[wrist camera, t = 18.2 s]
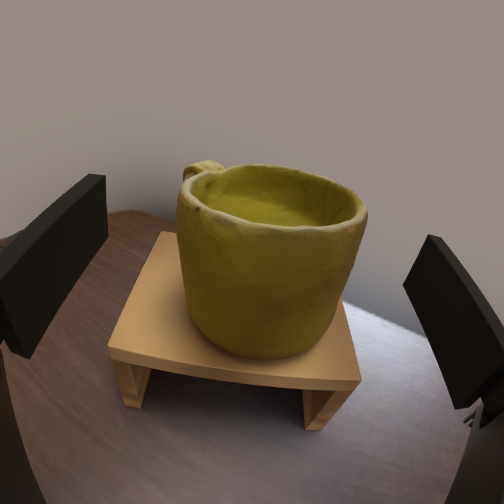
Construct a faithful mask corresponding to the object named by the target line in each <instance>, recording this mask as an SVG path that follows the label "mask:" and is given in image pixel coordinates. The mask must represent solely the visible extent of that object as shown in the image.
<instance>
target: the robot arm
mask: <svg viewBox="0 0 504 504" xmlns="http://www.w3.org/2000/svg"><path fill="white" fill-rule="evenodd" d="M108 237H109V236H108V222H107V205H106V176H105V175H97V174H88V175H87V176H85V177H84V178H83V179H82V180H80V181H79V182H78V183H76V184H75V185H74V186H73V187H72V188H70V189H69V190H68V191H67V192H66V193H64V194H63V195H62V196H61V197H59V198H58V199H57V200H56V201H55V202H54V203H52V205H50V206H49V207H48V208H47V209H46V210H45V211H43V212H42V213H41V214H40V215H39V216H38V217H37V218H36V219H35V220H34V221H32V222H31V223H30V224H29V225H28V226H27V227H26V228H25V229H24V230H21V231H19V232H17V233H15V234H14V235H12V236H10V237H9V238H8V239H7V240H6V241H5V242H4V243H3V244H2V245H1V246H0V344H1V343H2V341H3V339H4V340H5V342H6V344H7V346H8V347H9V349H10V351H11V352H13V353H15V354H17V355H20V356H22V357H25V358H27V359H29V360H30V358H31V356H32V354H33V352H34V351H35V349H36V347H37V345H38V343H39V342H40V340H41V338H42V336H43V335H44V333H45V331H46V330H47V328H48V326H49V325H50V323H51V321H52V320H53V318H54V316H55V315H56V313H57V311H58V310H59V308H60V307H61V305H62V303H63V302H64V300H65V299H66V297H67V296H68V294H69V292H70V291H71V289H72V288H73V286H74V285H75V283H76V282H77V280H78V279H79V277H80V276H81V274H82V273H83V272H84V270H85V269H86V267H87V266H88V264H89V263H90V261H91V260H92V259H93V257H94V256H95V254H96V253H97V252H98V250H99V249H100V248H101V246H102V245H103V243H104V242H105V241H106V239H107V238H108ZM403 287H404V289H405V290H406V293H407V295H408V297H409V299H410V301H411V303H412V305H413V307H414V309H415V312H416V314H417V316H418V318H419V320H420V323H421V325H422V327H423V329H424V332H425V334H426V336H427V338H428V341H429V343H430V346H431V348H432V350H433V353H434V355H435V358H436V360H437V363H438V365H439V368H440V370H441V373H442V375H443V378H444V380H445V383H446V386H447V389H448V391H449V394H450V397H451V400H452V403H453V405H454V408H455V409H462V408H468V407H470V406H471V405H472V404H473V403H474V402H475V401H477V400H478V399H479V398H480V397H481V399H482V402H483V403H482V404H481V405H480V406H479V407H478V408H477V409H475V410H474V411H473V412H472V413H471V414H470V415H469V416H467V417H466V418H465V420H464V421H463V423H466V422H468V421H469V420H470V419H471V418H472V419H474V420H473V421H472V422H471V423H470V424H469V425H468V426H469V427H471V428H472V429H471V432H470V436H469V439H468V442H467V445H466V449H465V452H464V455H463V458H462V460H461V463H460V466H459V469H458V471H457V474H456V477H455V479H454V482H453V484H452V487H451V489H450V492H449V494H448V496H447V498H446V501H445V503H444V504H504V327H503V325H502V324H501V322H500V320H499V319H498V317H497V315H496V314H495V312H494V311H493V309H492V307H491V306H490V304H489V303H488V301H487V300H486V298H485V297H484V295H483V294H482V292H481V291H480V289H479V288H478V286H477V285H476V283H475V282H474V281H473V279H472V278H471V276H470V275H469V274H468V272H467V271H466V269H465V268H464V267H463V265H462V264H461V263H460V261H459V260H458V259H457V257H456V256H455V255H454V253H453V252H452V251H451V249H450V248H449V247H448V246H447V244H446V243H445V242H444V241H443V239H442V238H441V237H437V236H433V235H428V236H427V238H426V240H425V242H424V244H423V246H422V248H421V250H420V252H419V254H418V256H417V258H416V260H415V262H414V264H413V266H412V268H411V270H410V272H409V274H408V276H407V278H406V280H405V282H404V283H403ZM0 504H46V502H45V500H44V498H43V495H42V493H41V491H40V488H39V486H38V484H37V481H36V479H35V476H34V474H33V471H32V468H31V466H30V463H29V460H28V457H27V454H26V451H25V448H24V445H23V442H22V439H21V436H20V432H19V429H18V425H17V422H16V418H15V414H14V410H13V406H12V402H11V398H10V393H9V388H8V383H7V378H6V373H5V367H4V361H3V354H2V352H1V349H0Z"/></svg>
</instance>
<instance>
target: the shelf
mask: <svg viewBox="0 0 504 504" xmlns="http://www.w3.org/2000/svg"><path fill="white" fill-rule="evenodd" d="M107 347H108V351H109V354H110V358H111V361H112V365H113V368H114V372H115V375H116V379H117V382H118V385H119V388H120V392H121V395H122V398H123V401H124V404H125V405H127V406H131V407H135V408H139V409H140V408H141V405H142V401H143V398H144V394H145V390H146V387H147V383H148V379H149V376H150V372H151V369H152V368H153V369H158V370H163V371H168V372H173V373H178V374H183V375H189V376H195V377H201V378H207V379H213V380H220V381H227V382H235V383H243V384H251V385H260V386H270V387H281V388H294V389H302V395H303V408H304V422H305V430H321V429H322V428H323V427H324V426H325V424H326V423H327V422H328V421H329V420H330V419H331V417H332V416H333V415H334V414H335V413H336V412H337V410H338V409H339V408H340V407H341V406H342V404H343V403H344V402H345V401H346V399H347V398H348V397H349V396H350V394H351V393H352V392H353V391H354V390H355V388H356V387H357V386H358V385H359V383H360V382H361V375H360V371H359V367H358V362H357V358H356V354H355V350H354V346H353V342H352V337H351V333H350V330H349V326H348V322H347V318H346V314H345V310H344V307H343V303H342V299H341V296H340V299H339V302H338V305H337V309H336V313H335V315H334V318H333V320H332V322H331V324H330V326H329V328H328V329H327V331H326V332H325V333H324V335H323V336H322V337H321V338H320V340H319V341H318V342H317V343H315V344H314V345H313V346H312V347H310V348H308V349H307V350H305V351H303V352H302V353H300V354H298V355H295V356H292V357H289V358H283V359H248V358H244V357H241V356H238V355H235V354H233V353H230V352H228V351H226V350H224V349H222V348H221V347H219V346H218V345H216V344H215V343H213V342H212V341H211V340H209V339H208V338H207V337H206V336H205V335H204V334H203V333H202V332H201V331H200V329H199V328H198V326H197V325H196V323H195V322H194V320H193V319H192V317H191V315H190V313H189V311H188V307H187V302H186V297H185V290H184V284H183V278H182V271H181V264H180V256H179V249H178V243H177V235H176V233H171V232H165V231H162V232H161V234H160V236H159V237H158V239H157V241H156V243H155V245H154V247H153V249H152V251H151V253H150V255H149V257H148V259H147V261H146V263H145V265H144V267H143V269H142V271H141V273H140V275H139V277H138V279H137V281H136V283H135V285H134V287H133V290H132V292H131V294H130V296H129V298H128V300H127V302H126V305H125V307H124V309H123V311H122V313H121V315H120V318H119V320H118V322H117V324H116V327H115V329H114V331H113V334H112V336H111V338H110V341H109V343H108V345H107Z"/></svg>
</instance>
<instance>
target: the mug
mask: <svg viewBox="0 0 504 504" xmlns="http://www.w3.org/2000/svg"><path fill="white" fill-rule="evenodd" d="M367 219H368V213H367V209H366V206H365V205H364V203H363V202H362V200H361V199H360V198H359V197H358V195H357V194H355V193H354V191H352V190H350V189H349V188H347V187H344V186H342V185H340V184H338V183H337V182H335V181H334V180H332V179H329V178H327V177H324V176H320V175H316V174H313V173H309V172H305V171H303V170H300V169H295V168H291V167H286V166H279V165H267V164H245V165H238V166H233V167H230V168H228V169H227V170H225V168H224V167H223V166H222V165H221V164H219V163H217V162H215V161H212V160H206V161H202V162H198V163H194V164H190V165H188V166H187V167H186V168H185V170H184V173H183V184H182V186H181V188H180V191H179V194H178V200H177V211H176V235H177V243H178V249H179V256H180V264H181V271H182V278H183V284H184V290H185V297H186V302H187V307H188V311H189V313H190V315H191V317H192V319H193V320H194V322H195V323H196V325H197V326H198V328H199V329H200V331H201V332H202V333H203V334H204V335H205V336H206V337H207V338H208V339H209V340H211V341H212V342H213V343H215V344H216V345H218V346H219V347H221V348H222V349H224V350H226V351H228V352H230V353H233V354H235V355H238V356H241V357H244V358H248V359H283V358H289V357H292V356H295V355H298V354H300V353H302V352H303V351H305V350H307V349H308V348H310V347H312V346H313V345H314V344H315V343H317V342H318V341H319V340H320V338H321V337H322V336H323V335H324V333H325V332H326V331H327V329H328V328H329V326H330V324H331V322H332V320H333V318H334V315H335V313H336V309H337V305H338V302H339V299H340V296H341V294H342V292H343V289H344V287H345V285H346V282H347V280H348V277H349V275H350V272H351V270H352V268H353V265H354V262H355V258H356V255H357V252H358V249H359V246H360V243H361V240H362V237H363V234H364V231H365V228H366V224H367Z"/></svg>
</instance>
